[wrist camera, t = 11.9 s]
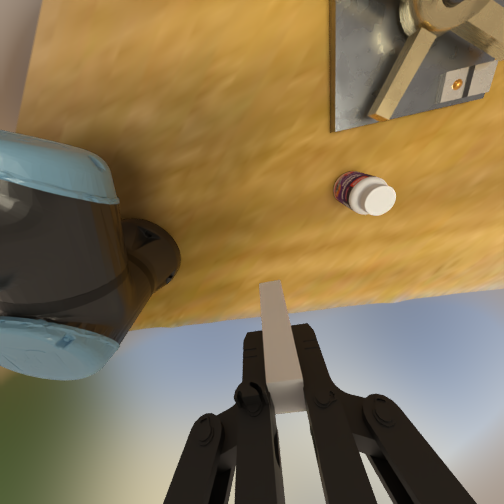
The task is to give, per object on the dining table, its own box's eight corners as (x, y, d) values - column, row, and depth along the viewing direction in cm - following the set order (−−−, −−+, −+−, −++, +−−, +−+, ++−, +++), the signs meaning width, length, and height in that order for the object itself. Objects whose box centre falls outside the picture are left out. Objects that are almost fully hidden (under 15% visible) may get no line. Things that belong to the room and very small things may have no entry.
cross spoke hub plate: (330, 132, 30) (339, 131, 27) (328, -83, 21) (342, -122, 18) (468, 100, 29) (494, 95, 26) (535, -150, 19) (588, -204, 16)
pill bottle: (345, 165, 33) (379, 172, 24) (370, 179, 34) (411, 190, 25) (326, 195, 35) (351, 211, 26) (350, 207, 36) (382, 226, 27)
